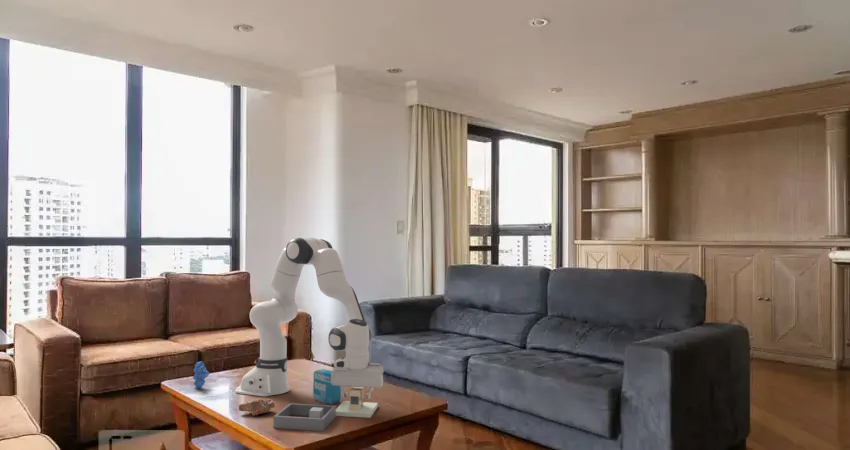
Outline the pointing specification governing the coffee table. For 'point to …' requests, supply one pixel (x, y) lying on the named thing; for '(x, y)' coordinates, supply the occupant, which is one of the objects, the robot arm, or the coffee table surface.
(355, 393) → the birch box
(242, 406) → the mineral specimen
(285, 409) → the bin
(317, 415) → the grey box
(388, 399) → the coffee table surface
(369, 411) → the board
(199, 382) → the grapes
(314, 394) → the data package
